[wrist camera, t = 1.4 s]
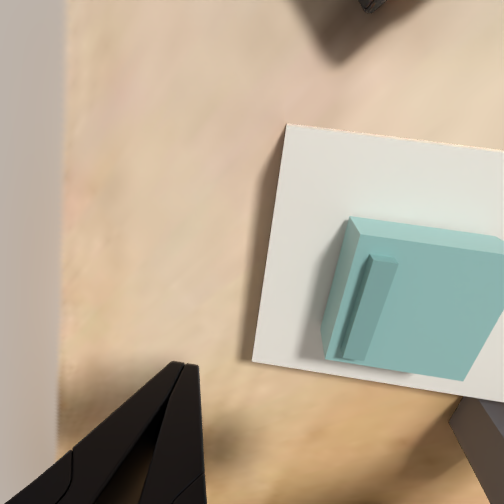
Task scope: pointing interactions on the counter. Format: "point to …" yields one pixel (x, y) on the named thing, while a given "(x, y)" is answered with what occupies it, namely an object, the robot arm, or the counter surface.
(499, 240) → the block
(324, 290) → the socket plate
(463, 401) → the plug
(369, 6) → the electronic device
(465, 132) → the counter surface
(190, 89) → the counter surface
